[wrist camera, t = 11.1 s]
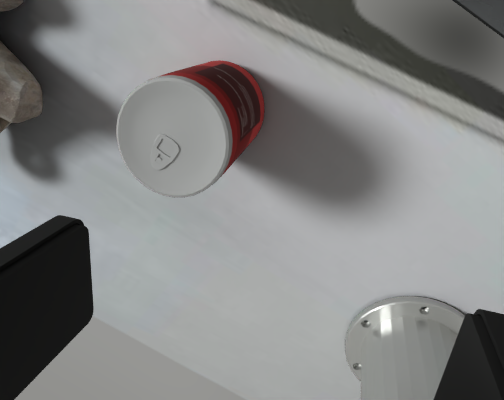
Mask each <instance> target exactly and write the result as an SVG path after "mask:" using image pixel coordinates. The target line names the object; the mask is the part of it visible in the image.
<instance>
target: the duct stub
mask: <svg viewBox="0 0 504 400" xmlns="http://www.w3.org/2000/svg"><path fill="white" fill-rule="evenodd" d="M453 1H454V2H455V3H457V4H458V5H459V6H461V7H462V8H464V9H465V10H466V11H468V12H469V13H470V14H472V15H473V16H474V17H476V18H477V19H478V20H480V21H481V22H482V23H484V24H485V25H486V26H488V27H489V28H491V29H492V30H493V31H495V32H496V33H497V34H499V35H500V36H501V37H503V38H504V0H453Z"/></svg>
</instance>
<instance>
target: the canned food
mask: <svg viewBox="0 0 504 400" xmlns="http://www.w3.org/2000/svg"><path fill="white" fill-rule="evenodd" d="M263 118H264V100H263V96H262V92H261V90H260V88H259V86H258V84H257V82H256V81H255V79H254V78H253V77H252V75H251V74H249V73H248V72H247V71H246V70H245V69H243V68H242V67H240V66H239V65H237V64H234V63H231V62H227V61H211V62H207V63H204V64H200V65H196V66H193V67H189V68H186V69H182V70H178V71H175V72H171V73H168V74H165V75H162V76H159V77H156V78H153V79H150V80H148V81H146V82H145V83H143V84H141V85H140V86H138V87H136V88H135V89H134V90H133V91H132V92H131V93H130V94H129V95H128V97H127V98H126V100H125V101H124V103H123V104H122V107H121V109H120V112H119V115H118V120H117V126H116V135H117V143H118V148H119V151H120V154H121V156H122V159H123V161H124V163H125V165H126V166H127V168H128V170H129V171H130V172H131V173H132V175H133V176H134V177H135V178H136V179H137V180H138V181H139V182H140V183H141V184H143V185H144V186H145V187H147V188H148V189H150V190H152V191H153V192H156V193H158V194H161V195H164V196H169V197H188V196H193V195H196V194H198V193H200V192H203V191H204V190H206V189H207V188H209V187H210V186H211V185H213V184H214V183H215V182H216V181H217V180H218V179H219V178H220V177H221V176H222V175H223V174H224V173H225V172H226V170H227V169H228V168H229V167H230V166H231V165H232V164H233V162H234V161H235V160H236V159H237V158H238V157H239V155H240V154H241V153H242V152H243V151H244V150H245V148H246V147H247V146H248V145H249V144H250V143H251V142H252V140H253V139H254V138H255V137H256V135H257V134H258V132H259V130H260V128H261V125H262V122H263Z"/></svg>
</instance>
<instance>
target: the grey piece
mask: <svg viewBox="0 0 504 400" xmlns="http://www.w3.org/2000/svg"><path fill="white" fill-rule="evenodd" d="M23 1H24V0H0V12H3V11H9V10H12V9H15V8H17V7H18V6H19V5H21V4H22V3H23ZM42 108H43V97H42V91H41V87H40V84H39V83H38V81H37V80H36V79H35V77H34V76H33V75H32V73H31V72H30V71H29V70H28V69H27V68H26V67H25V66H24V65H23V64H22V63H21V62H20V60H19V59H18V58H17V57H16V56H15V55H14V54H13V53H12V52H11V51H10V50H9V49H8V48H7V47H6V46H5V45H4V44H3V43H2V42H1V41H0V133H1V132H2V131H3V130H4V129H5V128H6V127H7V126H8V125H10V124H11V123H21V122H24V121H26V120H29V119H32V118H35V117H38V116H39V115H40V114H41V113H42Z"/></svg>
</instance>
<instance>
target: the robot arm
mask: <svg viewBox="0 0 504 400" xmlns="http://www.w3.org/2000/svg"><path fill="white" fill-rule="evenodd" d="M92 315H93V294H92V279H91V263H90V247H89V232H88V229H87V227H85V226H84V224H83V222H82V221H81V220H80V219H75V218H71V217H66V216H61V215H58V216H56V217H54V218H52V219H50V220H49V221H47V222H45V223H44V224H42V225H40V226H38V227H37V228H35V229H33V230H31V231H30V232H28V233H26V234H25V235H23V236H21V237H19V238H18V239H16V240H14V241H12V242H11V243H9V244H7V245H6V246H4V247H2V248H0V400H14V399H15V398H16V397H17V396H18V395H19V394H20V393H21V392H22V391H23V390H24V389H25V388H26V387H27V386H28V385H29V384H30V382H32V381H33V380H34V379H35V377H36V376H37V375H38V374H39V373H40V372H41V371H42V370H43V369H44V368H45V367H46V366H47V365H48V364H49V363H50V362H51V361H52V360H53V359H54V358H55V357H56V356H57V355H58V354H59V353H60V352H61V351H62V350H63V349H64V347H66V345H67V344H68V343H69V342H70V341H71V340H72V339H73V338H74V337H75V336H76V335H77V334H78V333H79V332H80V331H81V330H82V329H83V328H84V327H85V326H86V325H87V324H88V323H89V321H90V320H91V318H92ZM345 353H346V359H347V362H348V364H349V367H350V369H351V370H352V372H353V373H354V375H355V376H356V377H357V378H358V379H359V380H360V381H361V400H504V314H500V313H495V312H491V311H486V310H482V309H478V310H477V311H476V312H475V313H474V314H469V313H468V314H466V316H465V315H463V314H462V313H461V312H459V311H458V310H456V309H455V308H453V307H451V306H449V305H447V304H445V303H443V302H440V301H437V300H433V299H430V298H424V297H416V296H401V297H395V298H388V299H385V300H382V301H379V302H376V303H374V304H373V305H371V306H369V307H367V308H365V309H364V310H363V311H362V312H361V313H359V314H358V315H357V316H356V317H355V319H354V320H353V321H352V323H351V324H350V326H349V329H348V331H347V335H346V340H345Z"/></svg>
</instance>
